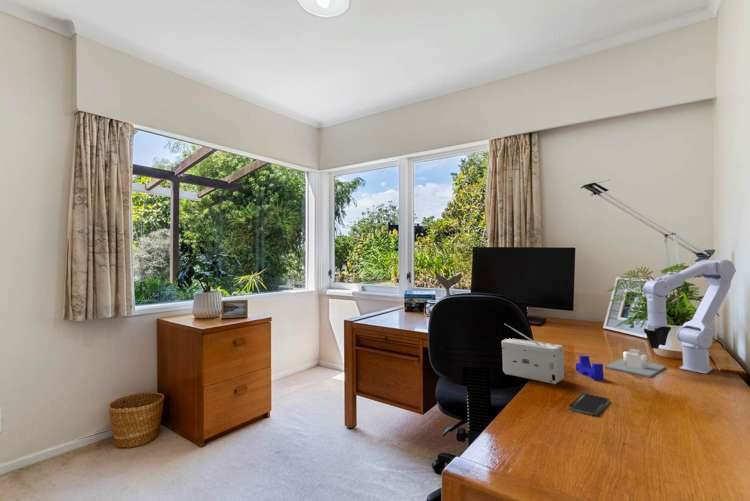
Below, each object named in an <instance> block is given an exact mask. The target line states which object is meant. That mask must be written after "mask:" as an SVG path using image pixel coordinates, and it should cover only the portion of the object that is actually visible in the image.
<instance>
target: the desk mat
mask: <svg viewBox="0 0 750 501" xmlns="http://www.w3.org/2000/svg"><path fill="white" fill-rule="evenodd" d="M666 368H667V366H665V365H660V364H657V363H650V362H648V369H641V368H636V367H631V366H626V365H624V359H623V358H619V359H617V360H615V361H613V362H610V363H609V364H607V365H605V366H604V369H607V370H612V371H617V372H621V373H625V374H631V375H635V376H639V377H640V376H641V377H645V378H649V379H650V378H652V377H654V376H655V375H657V374H659V373H661V372H662V371H664V370H665V369H666Z"/></svg>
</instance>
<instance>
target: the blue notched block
mask: <svg viewBox="0 0 750 501" xmlns="http://www.w3.org/2000/svg"><path fill="white" fill-rule="evenodd" d="M578 357H579V362H576V363H575V371H577V372H578V373H579V374H581V375H582V376H587V377H589V378H590V379H591V380H593V381H594V382H595V381H596V382H604V380H605V379H604V364H603V363H600V362H598V363H597V362H596V363H595V362H594V363H591V360H590V356H589V355H584V354H583V355H582V354H581V355H579V356H578Z"/></svg>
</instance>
